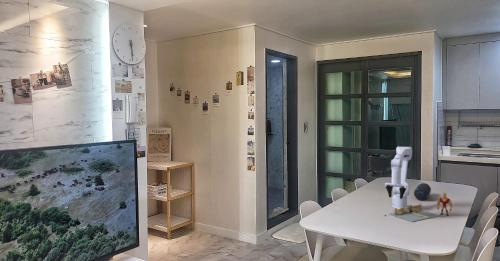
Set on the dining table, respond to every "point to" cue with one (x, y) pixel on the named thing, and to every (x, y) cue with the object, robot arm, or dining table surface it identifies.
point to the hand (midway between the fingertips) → (395, 197)
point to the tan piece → (401, 210)
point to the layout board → (416, 215)
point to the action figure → (444, 203)
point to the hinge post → (410, 208)
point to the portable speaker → (422, 191)
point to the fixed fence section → (416, 207)
